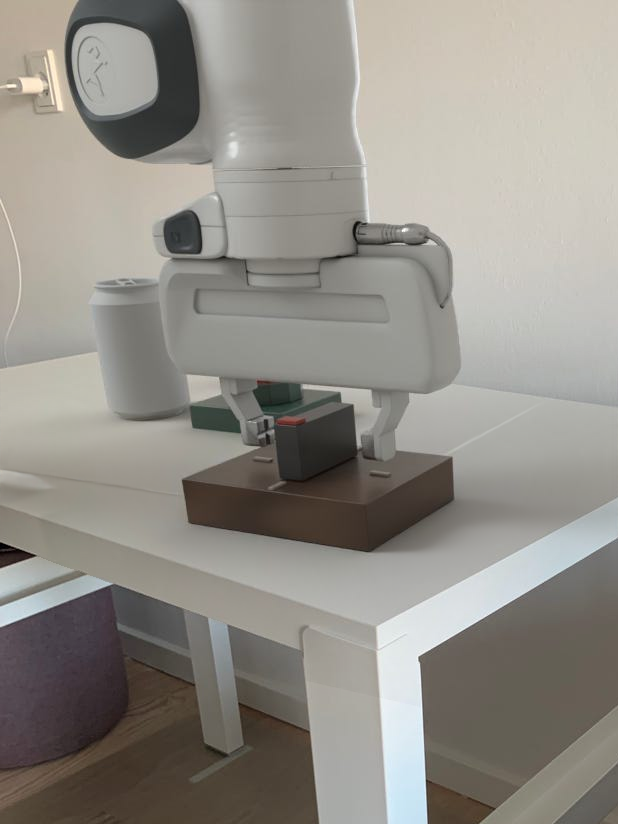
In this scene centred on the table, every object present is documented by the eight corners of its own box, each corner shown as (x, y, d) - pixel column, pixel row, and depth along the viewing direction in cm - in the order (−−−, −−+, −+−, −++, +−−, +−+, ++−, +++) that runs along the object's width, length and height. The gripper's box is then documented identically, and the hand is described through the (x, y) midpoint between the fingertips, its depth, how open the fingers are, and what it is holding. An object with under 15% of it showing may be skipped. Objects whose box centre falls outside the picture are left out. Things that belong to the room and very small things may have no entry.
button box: (192, 429, 89) (185, 383, 87) (255, 407, 96) (250, 364, 94) (284, 439, 85) (278, 391, 83) (343, 415, 92) (339, 371, 90)
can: (130, 427, 90) (104, 286, 85) (97, 413, 95) (71, 280, 90) (206, 412, 94) (186, 278, 89) (170, 400, 100) (149, 272, 94)
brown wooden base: (188, 522, 66) (180, 476, 64) (288, 477, 75) (283, 435, 73) (369, 552, 60) (365, 501, 59) (454, 499, 69) (452, 453, 67)
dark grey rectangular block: (335, 452, 69) (330, 398, 67) (358, 455, 68) (353, 400, 67) (279, 478, 64) (272, 420, 62) (302, 481, 63) (296, 422, 61)
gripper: (475, 219, 58) (481, 454, 64) (198, 219, 66) (227, 427, 72) (422, 227, 53) (434, 481, 59) (129, 225, 61) (166, 448, 67)
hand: (317, 451), depth 65 cm, fingers open, 8 cm apart
